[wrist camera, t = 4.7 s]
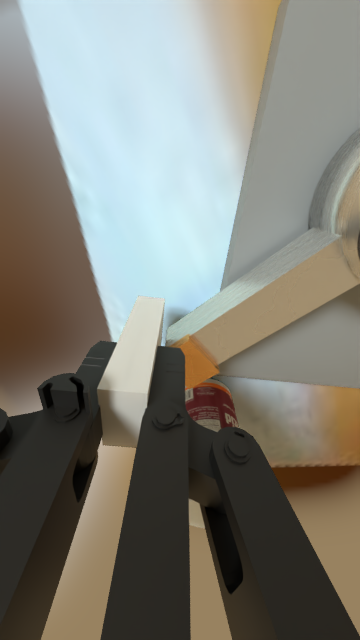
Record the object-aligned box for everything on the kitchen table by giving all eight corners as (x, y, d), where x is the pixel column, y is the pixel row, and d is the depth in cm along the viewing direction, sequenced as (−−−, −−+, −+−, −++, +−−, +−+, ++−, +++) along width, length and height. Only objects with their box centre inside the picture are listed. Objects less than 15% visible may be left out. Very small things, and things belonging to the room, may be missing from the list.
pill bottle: (235, 409, 21) (262, 529, 13) (184, 417, 21) (184, 535, 14) (226, 371, 18) (252, 490, 11) (170, 381, 19) (160, 499, 12)
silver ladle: (465, 43, 8) (660, -59, 5) (489, 212, 11) (625, 221, 7) (138, 302, 13) (123, 339, 10) (207, 372, 16) (213, 419, 13)
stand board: (278, 6, 9) (297, -31, 7) (602, 54, 9) (682, 28, 8) (205, 360, 18) (207, 376, 16) (372, 376, 18) (388, 393, 17)
